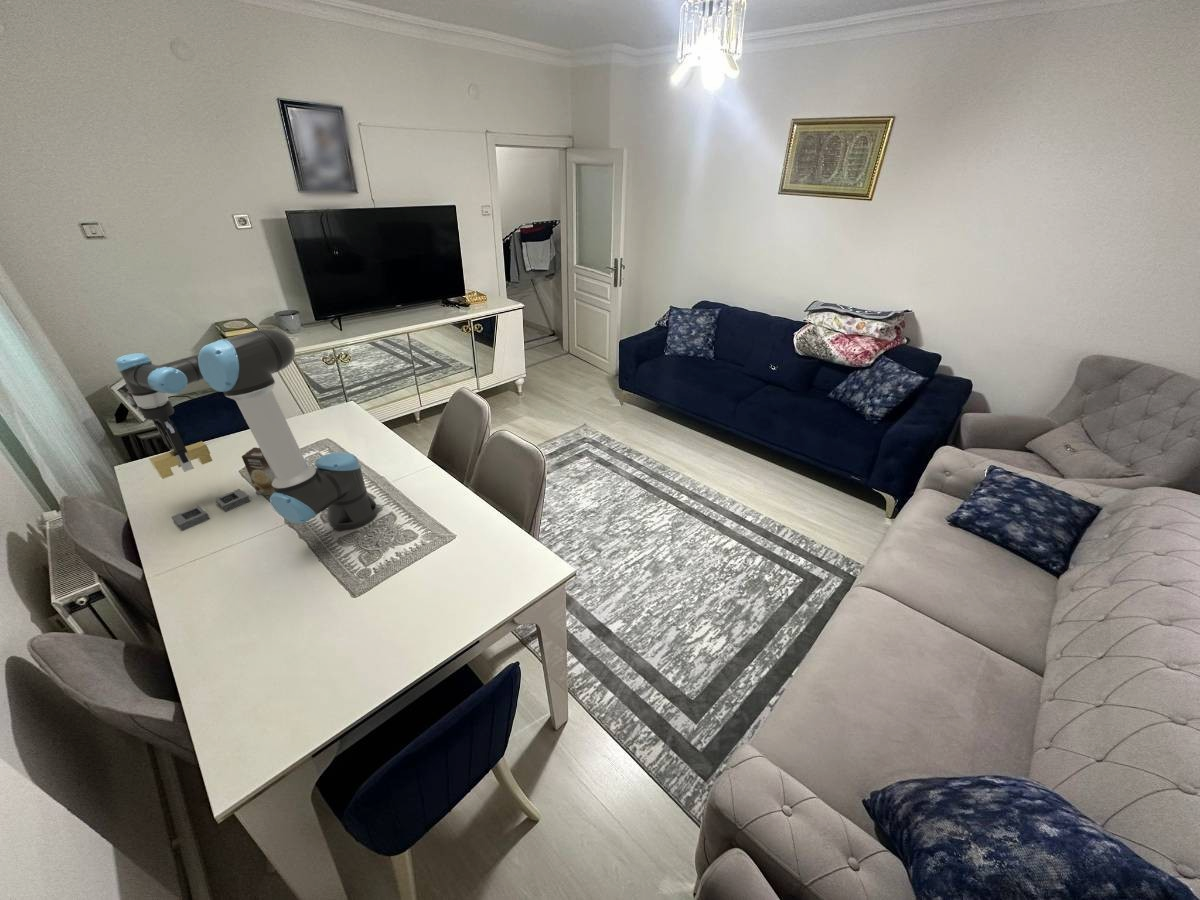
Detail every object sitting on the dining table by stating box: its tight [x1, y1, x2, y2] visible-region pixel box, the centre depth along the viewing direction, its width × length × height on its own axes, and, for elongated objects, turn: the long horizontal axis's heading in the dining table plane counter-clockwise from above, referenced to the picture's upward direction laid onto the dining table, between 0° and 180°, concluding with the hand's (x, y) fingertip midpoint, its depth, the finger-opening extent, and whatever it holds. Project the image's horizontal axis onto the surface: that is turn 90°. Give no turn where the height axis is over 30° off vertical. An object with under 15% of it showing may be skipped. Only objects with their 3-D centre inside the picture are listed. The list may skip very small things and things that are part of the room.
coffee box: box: [241, 447, 275, 496], centre depth 170 cm, size 9×6×16 cm
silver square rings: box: [171, 488, 251, 531], centre depth 162 cm, size 7×20×2 cm, turn 144°
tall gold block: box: [148, 440, 213, 480], centre depth 159 cm, size 4×14×6 cm, turn 144°
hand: (186, 467), depth 160 cm, fingers closed on tall gold block, 4 cm apart
